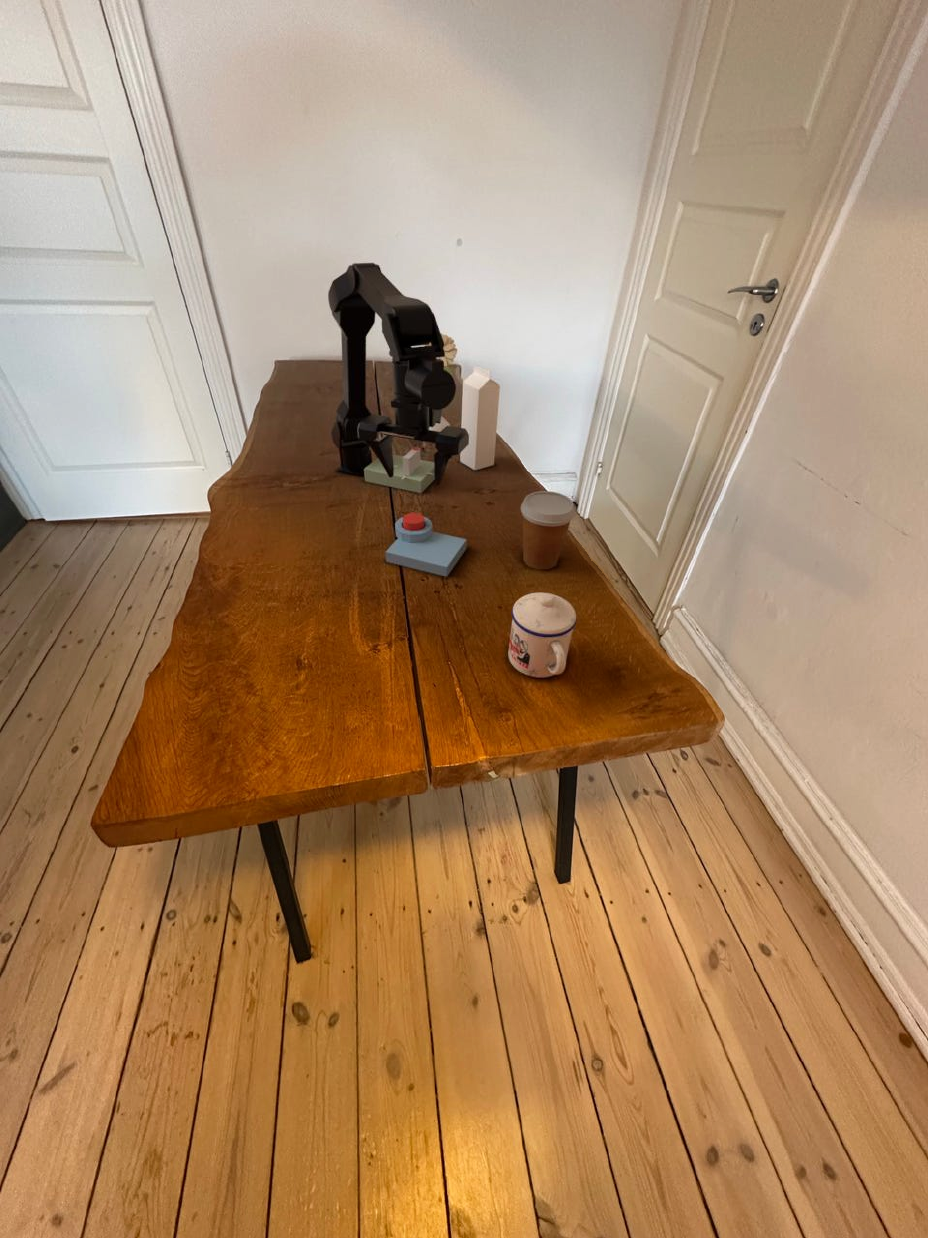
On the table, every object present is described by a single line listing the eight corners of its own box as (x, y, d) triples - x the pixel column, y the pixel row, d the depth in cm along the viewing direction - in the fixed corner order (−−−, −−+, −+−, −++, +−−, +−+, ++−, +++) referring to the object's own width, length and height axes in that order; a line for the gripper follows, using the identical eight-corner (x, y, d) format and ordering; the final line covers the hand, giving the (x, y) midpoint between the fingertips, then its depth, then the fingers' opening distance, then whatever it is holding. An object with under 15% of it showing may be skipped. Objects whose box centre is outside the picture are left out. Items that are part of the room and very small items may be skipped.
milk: (474, 471, 131) (479, 374, 116) (459, 461, 134) (462, 366, 120) (494, 464, 134) (501, 369, 119) (479, 456, 137) (484, 362, 123)
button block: (378, 560, 100) (377, 541, 98) (405, 530, 109) (405, 512, 106) (446, 577, 97) (447, 558, 95) (469, 545, 105) (469, 527, 103)
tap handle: (409, 476, 120) (408, 457, 118) (403, 474, 121) (402, 456, 118) (420, 465, 125) (420, 447, 122) (414, 464, 125) (414, 446, 122)
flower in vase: (400, 437, 144) (396, 333, 128) (419, 423, 153) (418, 323, 136) (446, 446, 141) (448, 340, 125) (462, 431, 149) (466, 330, 133)
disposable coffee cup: (532, 580, 97) (541, 520, 90) (505, 553, 104) (511, 495, 96) (575, 567, 101) (587, 509, 93) (546, 542, 107) (555, 485, 100)
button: (399, 529, 102) (399, 520, 101) (408, 519, 105) (408, 511, 104) (419, 533, 101) (419, 525, 100) (427, 523, 104) (427, 515, 103)
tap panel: (362, 483, 124) (361, 470, 122) (384, 464, 132) (384, 451, 130) (423, 496, 120) (423, 483, 118) (442, 476, 128) (443, 463, 126)
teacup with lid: (498, 643, 84) (504, 582, 77) (552, 633, 87) (563, 573, 79) (526, 700, 76) (536, 637, 68) (585, 688, 78) (602, 626, 70)
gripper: (481, 385, 93) (477, 472, 103) (382, 372, 98) (387, 456, 108) (458, 404, 85) (456, 496, 95) (351, 389, 90) (360, 478, 99)
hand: (414, 480), depth 99 cm, fingers open, 9 cm apart
